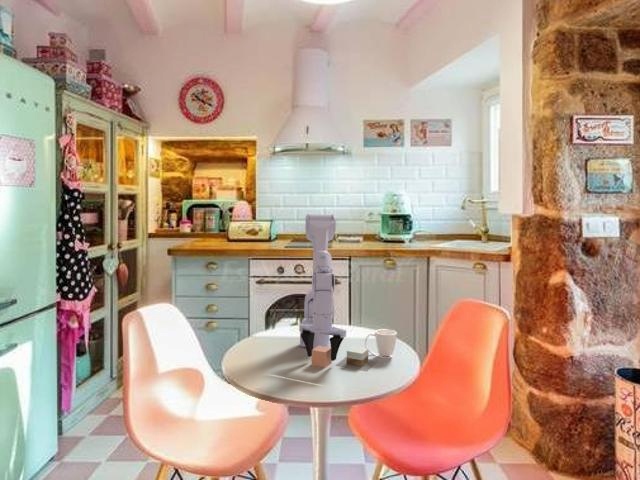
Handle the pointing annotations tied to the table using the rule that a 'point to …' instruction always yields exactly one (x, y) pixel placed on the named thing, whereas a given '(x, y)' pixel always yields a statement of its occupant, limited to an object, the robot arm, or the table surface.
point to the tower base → (357, 362)
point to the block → (321, 356)
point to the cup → (384, 342)
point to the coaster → (364, 368)
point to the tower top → (357, 353)
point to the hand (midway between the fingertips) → (321, 357)
